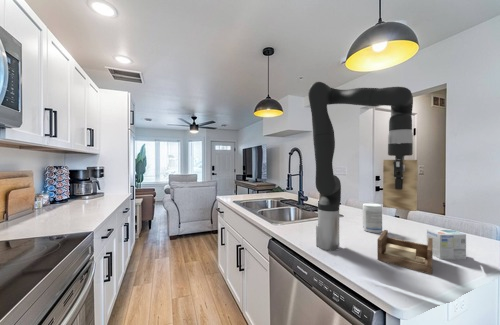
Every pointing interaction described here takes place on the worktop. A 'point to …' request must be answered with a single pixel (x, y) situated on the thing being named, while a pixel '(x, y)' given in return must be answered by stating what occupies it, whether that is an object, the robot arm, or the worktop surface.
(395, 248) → the pine offcut top
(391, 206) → the oak board
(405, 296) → the worktop surface
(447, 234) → the light bulb box
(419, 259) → the pine offcut bottom
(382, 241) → the rack
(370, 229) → the supplement tub
